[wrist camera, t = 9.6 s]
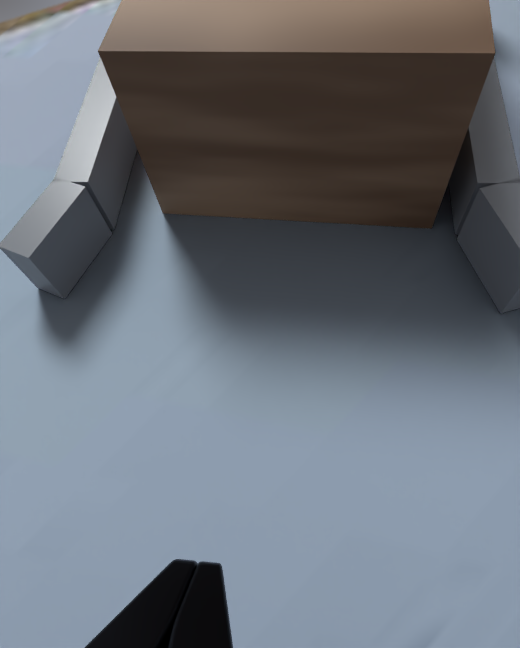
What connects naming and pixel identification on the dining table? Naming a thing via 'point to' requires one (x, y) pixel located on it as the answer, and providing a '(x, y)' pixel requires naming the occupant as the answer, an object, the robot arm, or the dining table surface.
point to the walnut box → (300, 103)
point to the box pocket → (117, 160)
